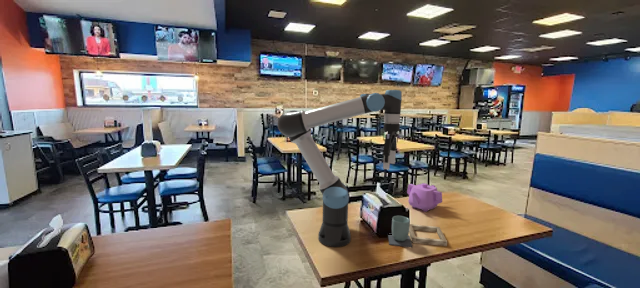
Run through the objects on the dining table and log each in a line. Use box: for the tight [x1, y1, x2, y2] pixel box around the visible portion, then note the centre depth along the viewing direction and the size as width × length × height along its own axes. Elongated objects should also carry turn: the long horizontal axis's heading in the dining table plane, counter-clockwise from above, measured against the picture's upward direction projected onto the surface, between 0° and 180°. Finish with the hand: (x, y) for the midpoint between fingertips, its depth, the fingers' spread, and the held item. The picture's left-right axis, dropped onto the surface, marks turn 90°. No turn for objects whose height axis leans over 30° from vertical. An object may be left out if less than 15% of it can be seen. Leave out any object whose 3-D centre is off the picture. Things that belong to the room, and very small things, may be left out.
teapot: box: [406, 182, 443, 213], centre depth 170 cm, size 19×18×15 cm
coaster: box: [387, 234, 413, 248], centre depth 129 cm, size 10×10×1 cm
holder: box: [409, 223, 448, 247], centre depth 134 cm, size 15×15×2 cm
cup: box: [391, 215, 411, 241], centre depth 129 cm, size 8×8×10 cm
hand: (389, 166), depth 136 cm, fingers open, 13 cm apart
